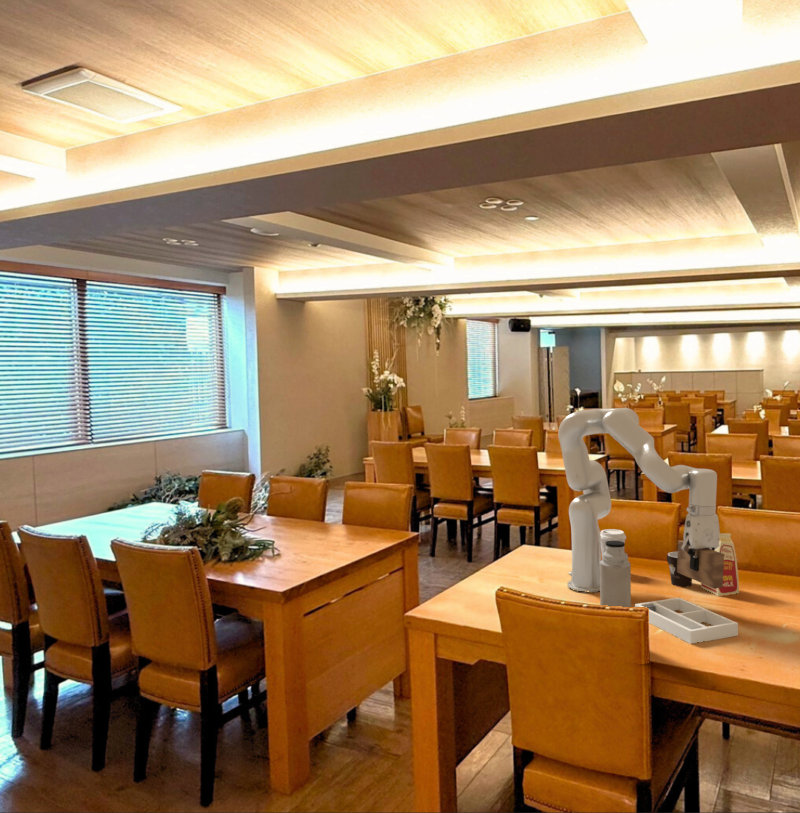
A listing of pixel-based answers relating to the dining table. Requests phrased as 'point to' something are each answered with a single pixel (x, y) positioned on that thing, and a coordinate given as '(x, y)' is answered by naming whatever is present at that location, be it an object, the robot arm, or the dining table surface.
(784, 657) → the dining table surface
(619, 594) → the thermos bottle
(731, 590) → the milk carton
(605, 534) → the coffee cup
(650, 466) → the robot arm
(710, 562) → the brown wooden block
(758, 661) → the dining table surface
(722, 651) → the dining table surface
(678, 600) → the white compartment tray
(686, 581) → the coffee mug
